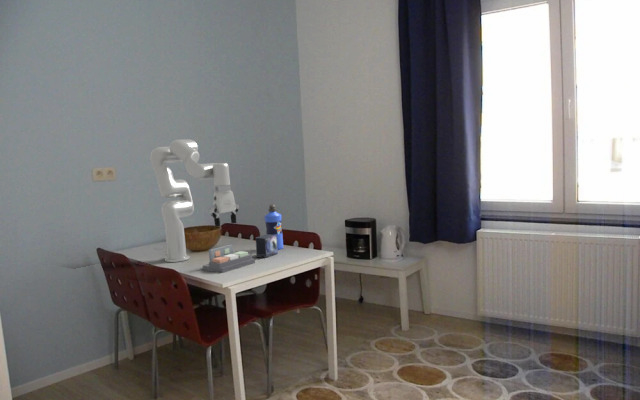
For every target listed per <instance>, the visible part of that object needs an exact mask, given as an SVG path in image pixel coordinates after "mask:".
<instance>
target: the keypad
mask: <svg viewBox="0 0 640 400" xmlns="http://www.w3.org/2000/svg"><path fill="white" fill-rule="evenodd" d="M233 246H234V245H233V244H227V245H224V246H219V247H216V248H211V249H208V256H209V257H208V258H209V259H208V260H209V262H208V264H204V265H203V264H202V271H208V272H217V273H223V274H224V273H227V272H230V271H233V270H237V269H239V268H242V267H245V266H248V265H252V264H255V263H256V261H255V258H253V254H250V253H248V255H247V256H243V257H238V258H236V259H233V260H228V261H226V262H222V263H215V262H213V260H212V259H214V258H218V257H223V256H225V255H229V254H233V253H234V248H233Z"/></svg>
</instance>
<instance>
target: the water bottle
mask: <svg viewBox="0 0 640 400" xmlns="http://www.w3.org/2000/svg"><path fill="white" fill-rule="evenodd" d="M282 218H283V217H282V214H281V213H279V212H277V208H276V205H275V204H274V203H270V204H269V206H268V213H267V214H265V215H264V223H265V227H266V232H265V233H266V234H265V235H267V234H270V235H277V251H281V249H282V250H283V249H284V238H283V237H284V235H283V230H282Z"/></svg>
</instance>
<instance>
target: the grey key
mask: <svg viewBox="0 0 640 400" xmlns="http://www.w3.org/2000/svg"><path fill="white" fill-rule="evenodd" d="M223 257H228V260H233V259H236V258H238V255H237V254H229V255H225V256H223Z"/></svg>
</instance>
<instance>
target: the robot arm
mask: <svg viewBox="0 0 640 400" xmlns="http://www.w3.org/2000/svg"><path fill="white" fill-rule="evenodd" d="M200 155H201V154H200V153H199V145H198V144H197V142H196V141H195V140H193V139H189V138H188V139H175V140H172V142H171V143H170V144H169V146H159V147H155V148H154V149H152V151H151V152H150V157H149V158H150V164H151V165H150V166H151V168H152V170H153V171H154V173H155V176H156V177H155V178H156V181H157V186H158V190H159V193H160V196H161V197H162V198H163V199H175V198H178V199H175V200H168V201H166V202H164V203H163V204H162V205H161V208H160V210H161V215H162V219H163V223H164V230H165V240H166V241H165V242H166V252H165V253H164V255H165V256H166V258H164V261H165V262H166V263H178V262H179V263H180V262H183V261H187V260H190V258H191V257H190V255H188V254H187V247H186V237H185V226H184V223H183V222H182V220H181V218H184V217H190V216H191V215H193V213H194V211H195V206H194V201H193V197H192V193H191V192H192V191H191V188H190V185H189V184H188V181H186V180H185V179H175V177H174V175H173V174H174V173H173V171H172V169H171V168H170V166H169V165H167V164H169V163H180V162H181V163H182V162H183V163H184V167H185V169H186V172H187V173H188V174H189V176H191V177H193V179H197V180H198V181H203V180H205V181H206V180H213V187H212V191H214V193H213V198H212V200H213V201H212V202H213V203H212V204H213V206H211V207H210V208H209V209H208V212H209V214H210V216H211V217H212V218H213V220H214V226H215V227H221V219H220V215H221V214H227V213H230V222H231V223H232V224H236V223H237V215H238V212H239V208H240V205H239V204H237V203H236V200H235V196H234V192H233V190H231V180H230V179H231V178H230V167H229V164H228V163H227V162H219V163H216V162H212V163H199V160H200Z"/></svg>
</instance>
